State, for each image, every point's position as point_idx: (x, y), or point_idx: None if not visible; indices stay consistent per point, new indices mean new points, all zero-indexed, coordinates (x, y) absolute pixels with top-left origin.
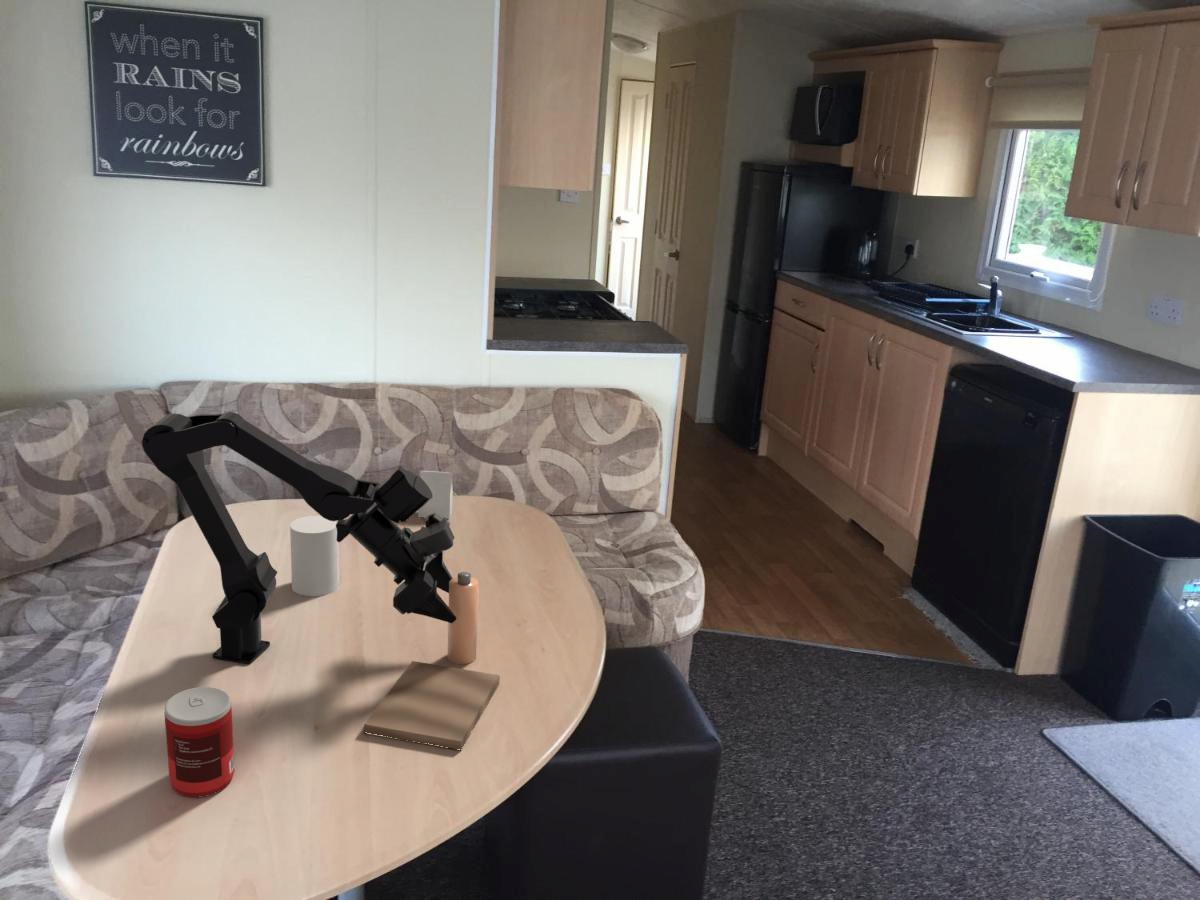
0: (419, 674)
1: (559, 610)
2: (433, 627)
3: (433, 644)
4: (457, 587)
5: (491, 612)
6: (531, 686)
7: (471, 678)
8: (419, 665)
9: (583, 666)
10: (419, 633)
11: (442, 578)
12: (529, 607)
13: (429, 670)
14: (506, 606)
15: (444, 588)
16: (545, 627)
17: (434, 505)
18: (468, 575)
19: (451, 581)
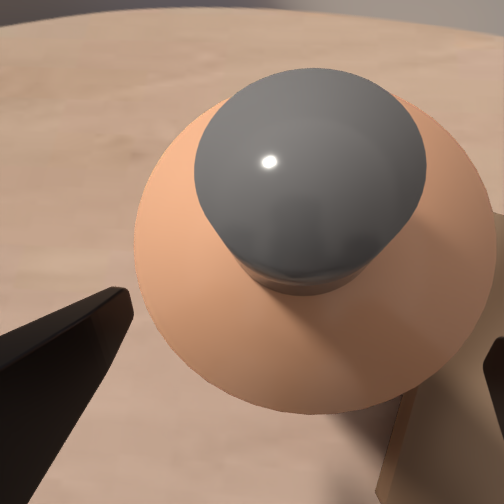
0: (493, 488)
1: (87, 69)
2: (103, 390)
3: (209, 399)
4: (443, 305)
5: (57, 217)
6: (458, 140)
7: (499, 292)
8: (420, 481)
9: (353, 32)
10: (132, 442)
11: (5, 430)
12: (56, 128)
13: (457, 442)
14: (36, 179)
15: (81, 394)
16: (160, 99)
17: None
18: (337, 99)
19: (258, 375)
